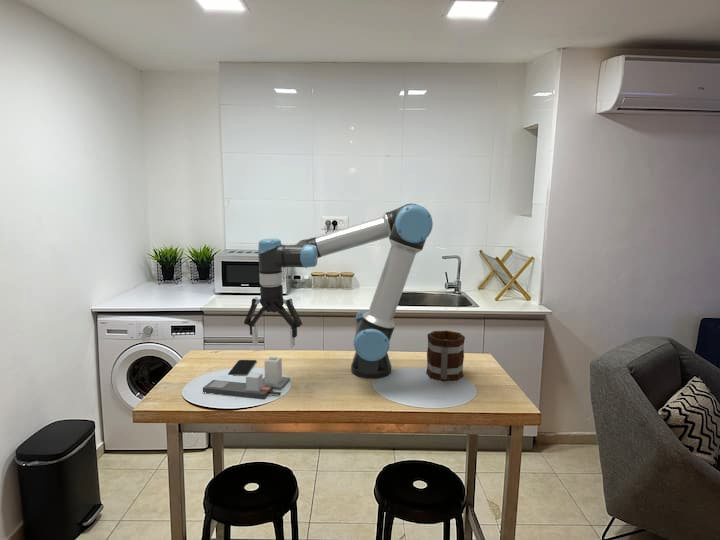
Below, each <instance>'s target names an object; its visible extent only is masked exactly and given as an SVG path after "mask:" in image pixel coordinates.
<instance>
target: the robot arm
mask: <svg viewBox="0 0 720 540" xmlns="http://www.w3.org/2000/svg"><path fill="white" fill-rule="evenodd" d="M433 224H434V223H433V217H432V214H431V213H430V211H429V210H428V209H427V208H426V207H424V206H422V205H420V204H416V203H407V204H404V205H402V206H400V207H397V208H395V209H393V210H390V211H386V212H384V214H383V216H380V217H377V218H375V219H371V220H367V221H363V222H361V223H357V224H355V225H354V224H353V225H351V226H347V227H344V228H340V229H337V230H333V231H330V232H328V233H324V234H320V235H317V236H315V237H310V238H307V239H306V238H305V239H302V240H299V242H297V243H296V244H282V241H281V239H279V238H262V239H260V240H259V241H258V246H257V247H258V250H257V251H258V253H257V255H258V267H259V268H258V269H259V285H260V287H259V289H260V290H259V293H260V294H259V295H260V298H258V297H256V296H255V297H254V298H252V299H251V306H250V308H249V310H248V312H247V314H246V317H245V319H244V321H243V324H244V325H247V326H249V334H250V336H251V337H252V346H256V345H257V344H258V343H259V334H258V324H256V323H257V322H258V321H259V320H260V318H262V316H263V315H264V314H265V312H267V313H278V314H279V315H280V316H281V317H282V318H283V319H284V321H286V323H287V324H288V325H289V326H290V327H289V345H290V346H289V348H294V347H295V346H296V337H298V328H299V327H301V326H302V325H303V322H302V320H301V318H300V315H299V314H298V312H297V310H296V308H295V306H294V304H293V303H294V302H293V299H292V298H288V299H284V290H283V289H284V288H283V286H284V285H283V284H282V283H283V268H305V269H308V268H315V267H317V265H318V260H319V259H320V258H322V257H326V256H329V255H332V254H335V253H340V252H343V251H346V250H350V249H353V248H356V247H360V246H363V245H366V244H367V245H368V244H370V243H374V242H377V241H380V240H384V239H387V238H388V240H389V242H390V244H391V245H390V248H389V252H388V255H387V257H386V260H385V263H384V266H383V269H382V272H381V274H380V278H379V280H378V283H377V286H376V289H375V291H374V295H373V298H372V301H371V303H370V306H369V309H368V310H361V311H357V312H356V314H355V315H356V316H355V333H354V340H353V346H354V350H355V353H354V355H353V358H352V362H351V366H350V372H351V374H352V375H354V376H355V377H358V378H362V379H367V380H368V379H370V380H373V379H383V378H385V377H389V376H390V375H391V374H392V363H391V360H390V356H389V354H388V353H389V350H390V341H391V338H392V335H393V332H394V331H395V327H396V325H395V323H394V320H393V319H394V316H395V315H396V314H395V313H396V310H397V308H398V305H399V303H400V300H401V297H402V294H403V291H404V288H405V286H406V283H407V279H408V278H409V274H410V272H411V268H412V267H413V264H414V261H415V257H416V256H417V254H418V253H419V252H422V251H423V249H424V246H425V244H426V240H427V239H428V237H429V236H430V235H431V233H432V230H433V226H434V225H433ZM259 304H260V305H261V308H259V311H258V312H257V313H256V315H255V316H254V314H255V312H256V309H257V307H258V305H259ZM284 305H285V306H286V307H287V309H288V311H286V309H285V307H284ZM288 312H289V313H288Z"/></svg>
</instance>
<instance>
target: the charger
mask: <svg viewBox="0 0 720 540" xmlns="http://www.w3.org/2000/svg"><path fill="white" fill-rule="evenodd" d="M282 358H283V357H279V356H276V357H275V356H269V357H267V358H266V359H265V360H264V361H263V362H264V377H265V383H269V384H278V383H279V382H280V381H281V380H282V377H283V367H282V365H283V363H282V361H283V359H282Z"/></svg>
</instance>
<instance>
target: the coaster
mask: <svg viewBox="0 0 720 540" xmlns="http://www.w3.org/2000/svg"><path fill="white" fill-rule="evenodd" d="M262 378H263V385H271V386H273V391H276V390H277V391H282V390H283V389H284V388H285V387H286V385H288V384H289V382H290V381H291V377H290V376H289V377H287V376H282V380H281V381H280V382H279V383H278V384H269V383H265V376H264V377H262Z"/></svg>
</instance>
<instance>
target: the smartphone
mask: <svg viewBox="0 0 720 540" xmlns="http://www.w3.org/2000/svg"><path fill="white" fill-rule="evenodd" d="M257 362H258V361H257V359H256V360H255V359H239V360H237V362H236V363H235V364H234V365H233V367H232V368H230V370H229V372H228V373H227V375H228V376H229V375H233V376H234V377H235V376H240V377H246V376H248V375H249V374H250V373H251V372H252V370H253V369H254V367H255V366H256V364H257ZM233 376H232V377H233Z"/></svg>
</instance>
